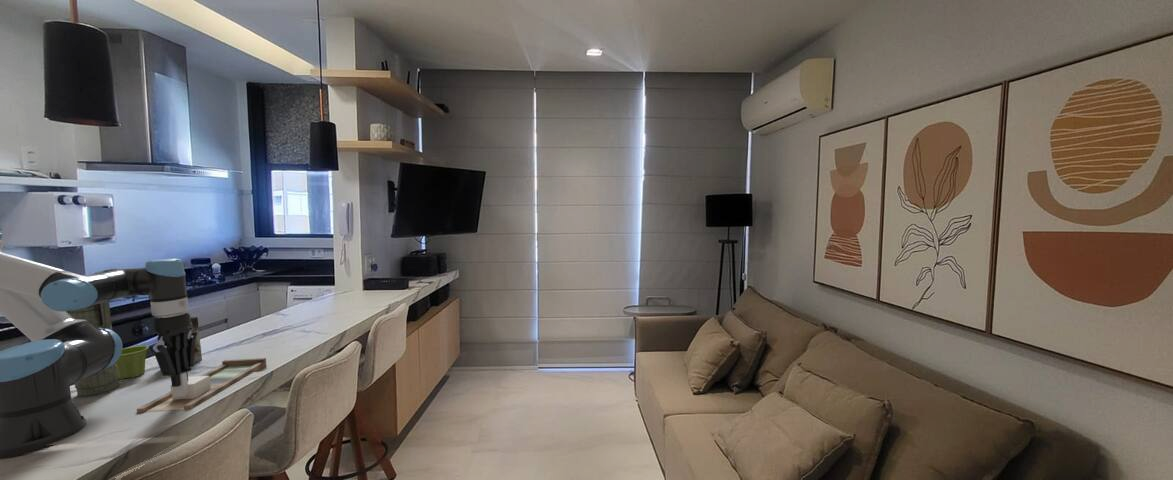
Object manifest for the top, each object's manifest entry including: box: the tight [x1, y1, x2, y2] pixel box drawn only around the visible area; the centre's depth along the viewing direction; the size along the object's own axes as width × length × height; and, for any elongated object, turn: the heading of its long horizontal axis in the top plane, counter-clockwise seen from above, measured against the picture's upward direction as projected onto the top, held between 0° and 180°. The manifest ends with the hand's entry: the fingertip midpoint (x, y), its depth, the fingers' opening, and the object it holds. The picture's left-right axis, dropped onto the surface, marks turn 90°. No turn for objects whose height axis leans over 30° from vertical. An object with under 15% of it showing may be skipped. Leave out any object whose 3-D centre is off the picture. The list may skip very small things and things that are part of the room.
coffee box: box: [157, 316, 203, 363], centre depth 155 cm, size 9×6×16 cm
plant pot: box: [115, 345, 149, 380], centre depth 146 cm, size 9×9×9 cm
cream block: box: [170, 375, 211, 400], centre depth 127 cm, size 6×6×4 cm
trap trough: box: [136, 357, 268, 414], centre depth 134 cm, size 33×13×3 cm, turn 6°
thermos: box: [66, 301, 120, 398], centre depth 133 cm, size 9×12×35 cm
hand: (181, 395), depth 123 cm, fingers closed
